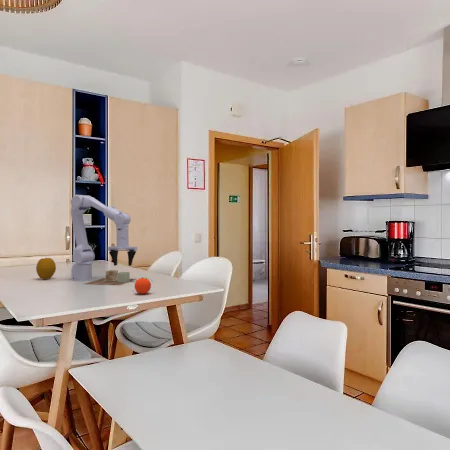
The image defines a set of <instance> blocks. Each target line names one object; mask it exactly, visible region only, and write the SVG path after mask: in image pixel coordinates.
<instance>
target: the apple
mask: <svg viewBox="0 0 450 450" xmlns="http://www.w3.org/2000/svg"><path fill="white" fill-rule="evenodd" d="M56 265H57V264H56V263H55V261H54V260H53V258H51V257H47V256H46V257H45V258H44V257H43V258H40V259H39V260H38V261H37V263H36V266H35V268H36V270H35V271H36V273H37V276H38V277H39V278H40V280H48V279H51V278H52V277H53V276H54V274H55V273H56V270H57V266H56Z"/></svg>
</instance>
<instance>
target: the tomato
mask: <svg viewBox="0 0 450 450" xmlns="http://www.w3.org/2000/svg"><path fill="white" fill-rule="evenodd" d="M151 282H152V283H154V282H153V280H151V281H150V278H148V277H140V278H139V277H138V278H137V279H136V281H135V283H134V289H135V291H136V292H137V293H138V294H139V295H140V294H141V295H145V294H148V293H149V292H150V291H151V288H152V283H151Z"/></svg>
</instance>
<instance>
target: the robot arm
mask: <svg viewBox="0 0 450 450" xmlns="http://www.w3.org/2000/svg"><path fill="white" fill-rule="evenodd" d="M70 206H71V207H70V216H71V222H72V228H73V232H74V233H73V234H74V239H75V243H76V247H75V248H74V250H73V261H74V264H73V265H72V266H71V269H70V272H71V273H70V274H71V281H81V282H82V281H83V282H84V281H92V280H93V277H92V276H93V262H94V260H95V257H96V255H95V252H94V250H93V247H92V246H91V245H89V242H88V237H87V232H86V231H87V230H86V226H85V221H84V216H83V215H84V214H85V212H86V211H87V210H88V209H90V208H91V207H92V208H95V209H96V210H98V211H100V212H102V213H103V216H104V217H106V218H108V219H109V220H111V221H112V222H114V224H115V229H116V246H108V247H107V251H109V252H108V253H109V255H110V257H111V259H112V262H113V266H117V265H118V257H119V256H118V254H119V252H121V251H122V252H123V251H124V252H126V251H127V257H128V258H127V259H128V260H127V261H128V265H127V266H128V267H129V266H132V264H133V260H134V257H135V255H136V254H137V251H138V246H130V244H129V239H130V237H129V224H130V223H131V216H130V215H129V214H128V213H127V212H123V211H121V210H119V209H117V208H116V207H115V206H114V205H112V206H111V205H108V206H107V205H105V204H104V203H102V202H101V201H99V200H98V199H96V198H95V197H92V196H91V195H84V194H75V195H73V197H72V198H71V199H70Z"/></svg>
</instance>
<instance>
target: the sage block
mask: <svg viewBox="0 0 450 450" xmlns="http://www.w3.org/2000/svg"><path fill="white" fill-rule="evenodd" d="M130 279H131V278H130V272H129V271H121V272H119V271H118V273H117V282H120V283H125V284H127V283H126V282H128V283H130V282H129V281H130Z"/></svg>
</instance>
